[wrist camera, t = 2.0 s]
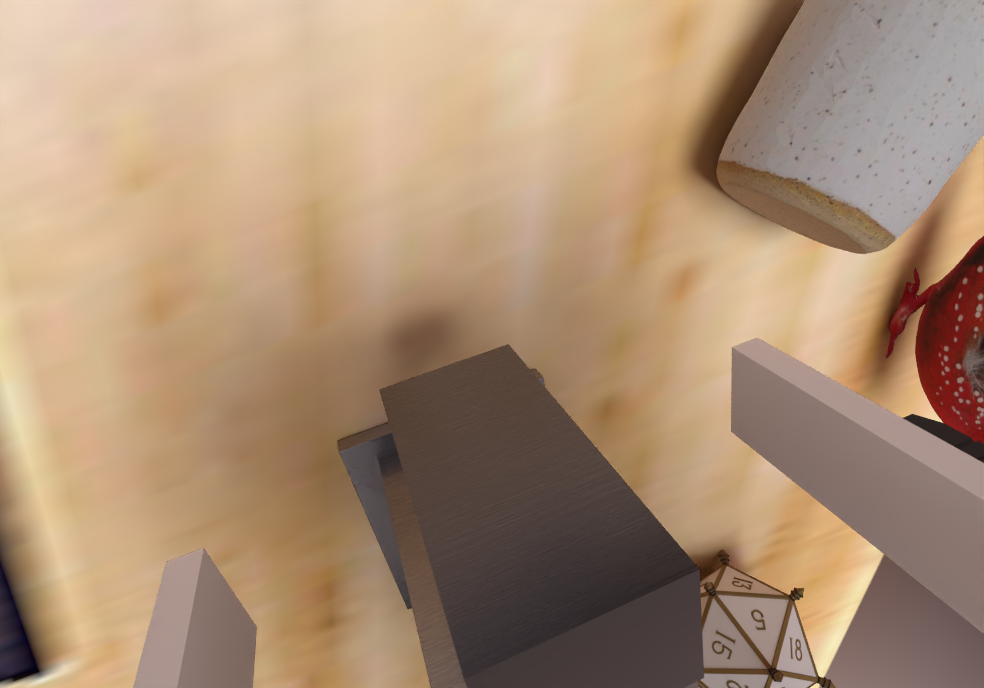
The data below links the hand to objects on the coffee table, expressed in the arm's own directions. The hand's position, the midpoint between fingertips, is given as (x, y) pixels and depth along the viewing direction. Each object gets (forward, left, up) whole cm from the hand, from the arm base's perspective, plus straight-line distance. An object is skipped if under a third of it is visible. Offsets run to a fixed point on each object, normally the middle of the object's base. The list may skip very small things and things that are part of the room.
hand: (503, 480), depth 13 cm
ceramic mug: (+3, -18, -10) cm, 21 cm away
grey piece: (-8, 0, -4) cm, 9 cm away
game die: (-23, -12, -10) cm, 28 cm away
